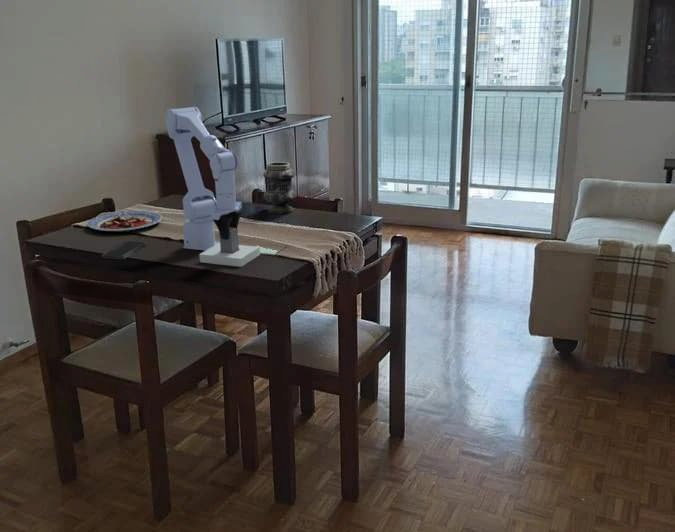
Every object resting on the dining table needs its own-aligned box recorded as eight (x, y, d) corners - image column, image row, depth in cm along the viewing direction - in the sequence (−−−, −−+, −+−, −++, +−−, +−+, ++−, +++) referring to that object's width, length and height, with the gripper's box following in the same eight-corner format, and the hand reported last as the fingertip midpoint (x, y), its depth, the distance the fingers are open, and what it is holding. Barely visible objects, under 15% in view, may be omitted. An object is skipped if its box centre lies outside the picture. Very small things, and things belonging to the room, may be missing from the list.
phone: (147, 242, 227) (122, 257, 213) (147, 246, 227) (122, 260, 213) (125, 241, 229) (99, 255, 215) (125, 244, 229) (100, 259, 215)
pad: (248, 252, 218) (248, 251, 218) (261, 244, 226) (261, 243, 225) (274, 255, 215) (274, 253, 214) (286, 246, 222) (286, 245, 222)
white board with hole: (200, 262, 209) (199, 254, 209) (220, 250, 220) (219, 242, 219) (241, 266, 205) (240, 258, 204) (259, 254, 215) (259, 247, 214)
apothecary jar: (299, 206, 272) (298, 160, 266) (290, 214, 260) (288, 166, 255) (270, 205, 274) (268, 160, 268) (260, 213, 263) (257, 166, 257)
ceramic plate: (135, 238, 235) (134, 230, 234) (72, 232, 243) (71, 224, 242) (176, 219, 258) (175, 211, 257) (116, 214, 266) (116, 207, 265)
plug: (220, 252, 210) (219, 230, 208) (227, 248, 214) (225, 226, 212) (232, 253, 209) (230, 231, 207) (238, 249, 213) (237, 227, 210)
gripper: (225, 199, 198) (228, 245, 202) (249, 188, 211) (251, 231, 215) (203, 197, 200) (207, 242, 205) (228, 187, 213) (231, 229, 218)
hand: (228, 237), depth 210 cm, fingers closed on plug, 4 cm apart
